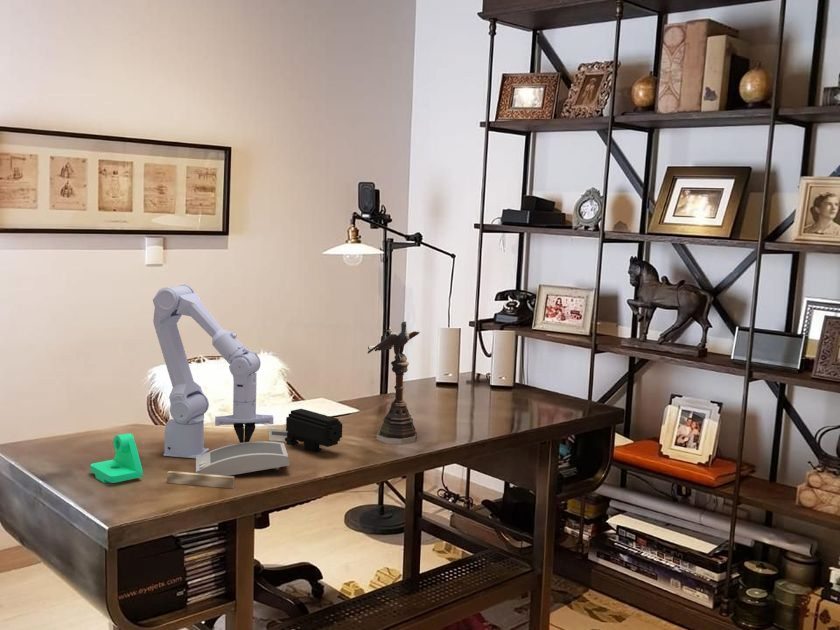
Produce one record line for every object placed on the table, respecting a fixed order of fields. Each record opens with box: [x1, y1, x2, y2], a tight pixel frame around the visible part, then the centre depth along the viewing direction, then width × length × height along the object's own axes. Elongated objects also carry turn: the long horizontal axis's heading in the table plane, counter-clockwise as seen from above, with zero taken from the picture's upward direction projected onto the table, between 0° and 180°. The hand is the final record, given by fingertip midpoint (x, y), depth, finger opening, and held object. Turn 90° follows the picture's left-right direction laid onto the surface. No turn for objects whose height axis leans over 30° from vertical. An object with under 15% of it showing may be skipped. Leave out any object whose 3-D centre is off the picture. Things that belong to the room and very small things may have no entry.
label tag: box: [268, 427, 288, 443], centre depth 235 cm, size 6×1×4 cm, turn 83°
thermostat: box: [195, 440, 291, 476], centre depth 209 cm, size 11×22×6 cm, turn 104°
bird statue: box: [367, 321, 421, 446], centre depth 242 cm, size 17×13×35 cm
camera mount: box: [89, 432, 144, 484], centre depth 200 cm, size 12×8×10 cm, turn 45°
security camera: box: [285, 408, 343, 454], centre depth 228 cm, size 7×18×10 cm, turn 50°
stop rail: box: [166, 470, 236, 489], centre depth 197 cm, size 16×1×2 cm, turn 82°
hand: (243, 451), depth 216 cm, fingers closed
